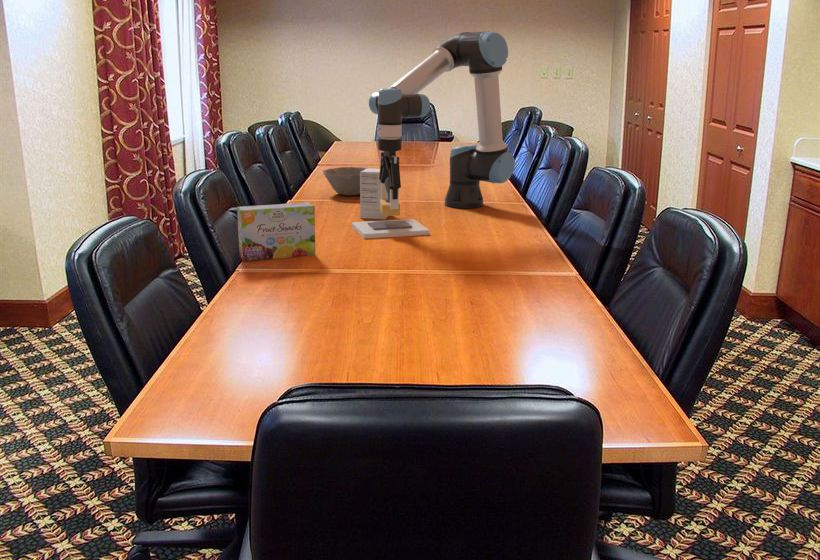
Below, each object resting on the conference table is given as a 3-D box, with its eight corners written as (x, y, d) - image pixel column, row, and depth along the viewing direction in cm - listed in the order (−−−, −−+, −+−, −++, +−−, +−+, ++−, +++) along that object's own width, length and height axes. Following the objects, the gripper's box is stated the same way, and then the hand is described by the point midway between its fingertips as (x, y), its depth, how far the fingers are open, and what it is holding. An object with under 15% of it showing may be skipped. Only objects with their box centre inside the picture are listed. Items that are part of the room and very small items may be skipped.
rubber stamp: (400, 215, 244) (400, 179, 241) (382, 216, 243) (382, 179, 240) (396, 209, 254) (396, 174, 250) (379, 210, 253) (379, 174, 249)
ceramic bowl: (388, 193, 318) (388, 169, 315) (355, 201, 299) (355, 176, 296) (346, 188, 329) (345, 165, 326) (312, 195, 310) (311, 171, 308)
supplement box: (384, 220, 266) (384, 172, 261) (359, 218, 268) (359, 171, 263) (391, 214, 275) (391, 168, 270) (366, 213, 277) (366, 167, 272)
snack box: (243, 262, 211) (240, 209, 206) (239, 257, 216) (236, 206, 211) (316, 255, 219) (314, 204, 214) (310, 251, 224) (309, 201, 219)
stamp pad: (413, 223, 262) (413, 217, 261) (429, 234, 245) (429, 228, 244) (351, 226, 255) (351, 220, 255) (363, 238, 239) (363, 232, 238)
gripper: (369, 134, 251) (370, 199, 257) (387, 142, 230) (387, 213, 236) (391, 134, 253) (391, 199, 259) (411, 141, 232) (410, 211, 238)
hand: (389, 205), depth 248 cm, fingers closed on rubber stamp, 11 cm apart
